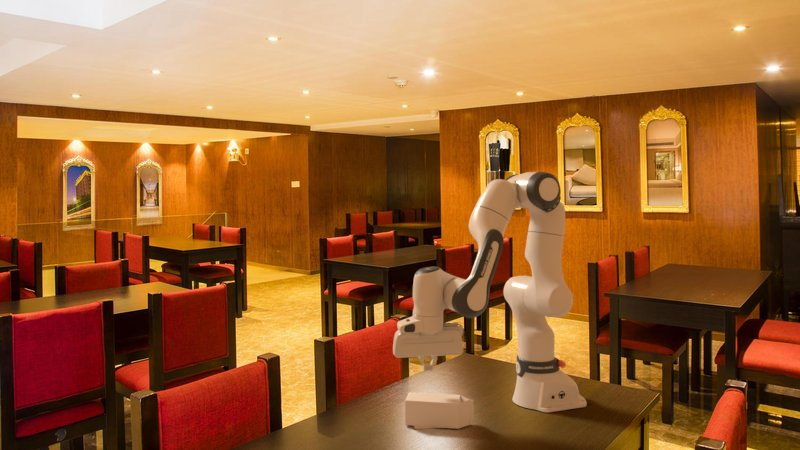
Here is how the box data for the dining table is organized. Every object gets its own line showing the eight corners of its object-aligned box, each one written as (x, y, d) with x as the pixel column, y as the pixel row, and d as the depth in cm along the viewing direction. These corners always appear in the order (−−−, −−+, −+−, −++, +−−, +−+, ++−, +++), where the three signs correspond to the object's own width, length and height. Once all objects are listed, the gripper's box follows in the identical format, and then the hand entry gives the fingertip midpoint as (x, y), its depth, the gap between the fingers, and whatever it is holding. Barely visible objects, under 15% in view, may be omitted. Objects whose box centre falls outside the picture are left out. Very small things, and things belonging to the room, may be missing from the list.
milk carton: (404, 425, 163) (472, 429, 160) (404, 400, 163) (472, 404, 160) (408, 415, 170) (474, 419, 167) (408, 391, 170) (474, 395, 167)
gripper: (460, 319, 172) (460, 365, 173) (391, 322, 169) (391, 369, 170) (465, 324, 166) (465, 372, 167) (394, 327, 163) (395, 376, 164)
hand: (427, 370), depth 168 cm, fingers closed
